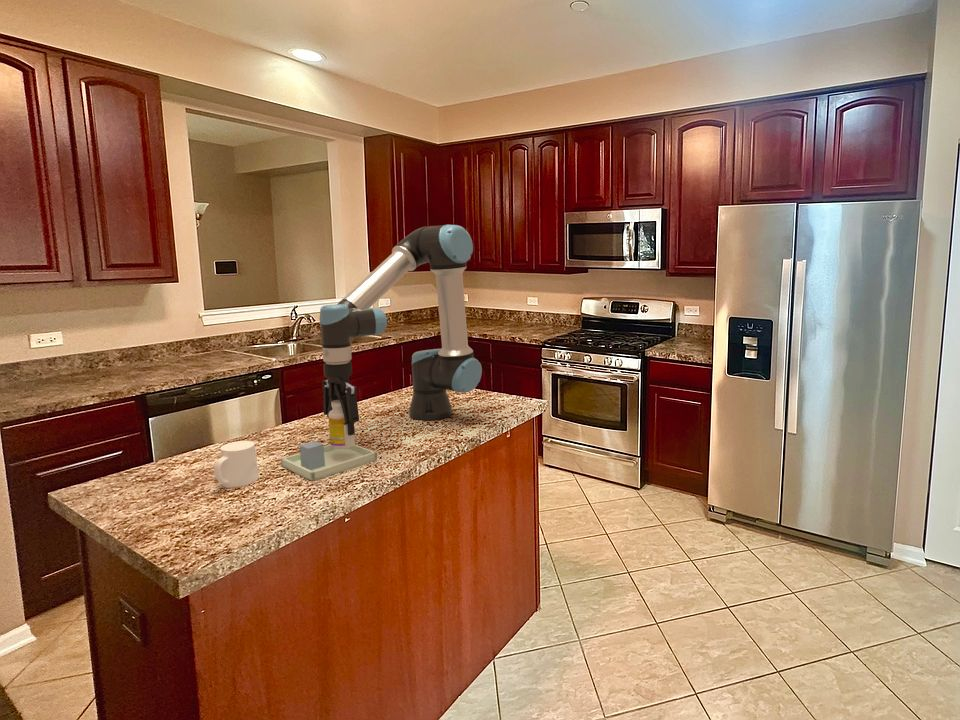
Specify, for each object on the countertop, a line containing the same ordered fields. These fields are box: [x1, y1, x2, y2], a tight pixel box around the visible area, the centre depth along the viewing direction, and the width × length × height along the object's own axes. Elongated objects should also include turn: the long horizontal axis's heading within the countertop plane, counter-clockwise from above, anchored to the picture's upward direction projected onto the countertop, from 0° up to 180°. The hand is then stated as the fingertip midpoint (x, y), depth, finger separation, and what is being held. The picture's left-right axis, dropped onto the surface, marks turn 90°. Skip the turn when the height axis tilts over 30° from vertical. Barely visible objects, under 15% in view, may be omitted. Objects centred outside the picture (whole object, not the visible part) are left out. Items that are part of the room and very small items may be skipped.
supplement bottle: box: [327, 400, 352, 449], centre depth 159 cm, size 7×7×13 cm
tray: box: [280, 444, 378, 482], centre depth 157 cm, size 20×16×2 cm
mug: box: [213, 440, 260, 489], centre depth 145 cm, size 12×9×8 cm
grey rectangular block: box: [299, 440, 325, 470], centre depth 153 cm, size 4×4×6 cm
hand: (342, 442), depth 160 cm, fingers closed on supplement bottle, 7 cm apart
